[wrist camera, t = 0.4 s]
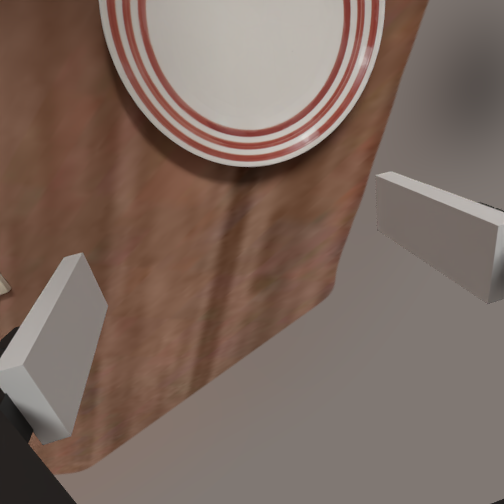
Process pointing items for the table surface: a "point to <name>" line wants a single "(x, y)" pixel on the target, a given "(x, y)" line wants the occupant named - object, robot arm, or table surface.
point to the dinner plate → (244, 70)
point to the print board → (4, 285)
